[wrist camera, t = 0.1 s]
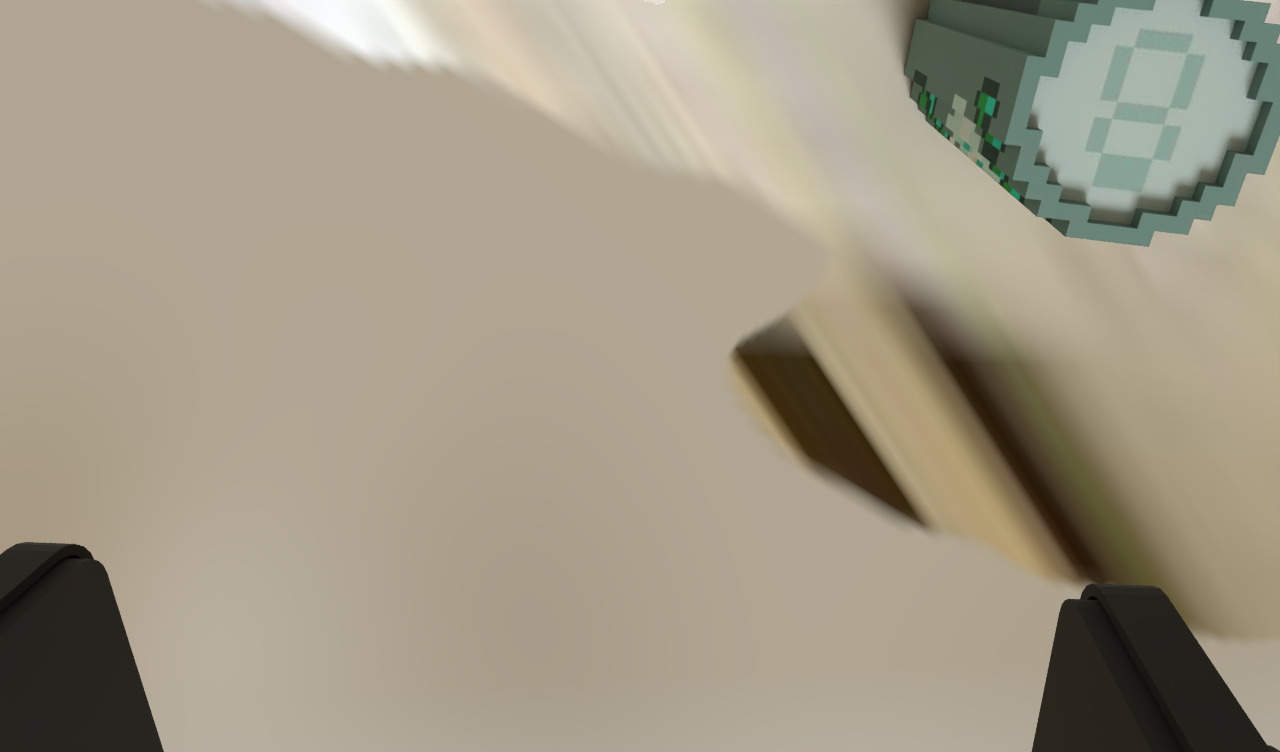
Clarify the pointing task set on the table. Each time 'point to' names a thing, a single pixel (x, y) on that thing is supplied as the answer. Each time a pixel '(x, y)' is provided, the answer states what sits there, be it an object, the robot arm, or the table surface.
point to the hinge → (655, 1)
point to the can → (1104, 104)
